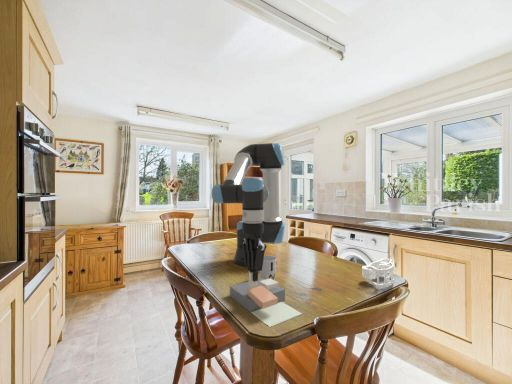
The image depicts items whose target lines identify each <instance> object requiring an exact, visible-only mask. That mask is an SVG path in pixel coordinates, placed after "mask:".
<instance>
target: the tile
mask: <svg viewBox="0 0 512 384" xmlns="http://www.w3.org/2000/svg"><path fill="white" fill-rule="evenodd" d="M247 295H248V296H249V297H250V298H251V299H252V300H253V301H254V302H255V303H256V304H257V305H258V306H260V307H261V308H260V309H264V308H267V307H270V306H273V305H276V304H278V298H277V297H276V296H275V295H274V294H272V293H271V292H270V291H268V290H267V289H266V288H265V287H263V286H258V287H254V288H251V289H248V290H247Z"/></svg>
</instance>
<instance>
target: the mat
mask: <svg viewBox="0 0 512 384" xmlns="http://www.w3.org/2000/svg"><path fill="white" fill-rule="evenodd" d="M250 313H251V314H253V315H254V316H255V317H256V318H257V319H258V320H260V321H261V322H262V323H264V324H265V325H266V326H267V325H268V326H267V327H268V328H272V327H274V325H275V326H277V325H279V324H283V323H286V322H288V321H290V320H293V319H295V318H298V317H301V316H302V315H303V313H302V312H300V311H298V310H297V309H295V308H294V307H292V306H290V305H288V304H286V302H284V301H282V302H279V303H278V304H276V305H273V306H270V307H267V308H264V309H262V308H260V309H257V310H254V311H251V312H250ZM271 326H272V327H271Z"/></svg>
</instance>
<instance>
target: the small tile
mask: <svg viewBox="0 0 512 384" xmlns="http://www.w3.org/2000/svg"><path fill="white" fill-rule="evenodd" d="M259 286H263V287H265V288H266V289H267V290H268V291H270V290H273V289H276V288H278V286H279V281H276V280H275V279H274V280H272V279H270V278H269V279H266V280H262V281H259Z"/></svg>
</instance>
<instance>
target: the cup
mask: <svg viewBox="0 0 512 384" xmlns="http://www.w3.org/2000/svg"><path fill="white" fill-rule="evenodd" d="M277 260H278V259H277V257H276V256H274V255H264V260H263V266H262V271H259V275H260V278H264V279H265V280H266V279H269V278H270V279H272V280H274V281H275V277H276V272H277V271H276V270H277Z"/></svg>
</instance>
